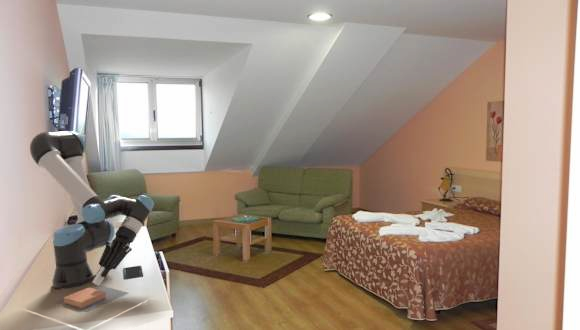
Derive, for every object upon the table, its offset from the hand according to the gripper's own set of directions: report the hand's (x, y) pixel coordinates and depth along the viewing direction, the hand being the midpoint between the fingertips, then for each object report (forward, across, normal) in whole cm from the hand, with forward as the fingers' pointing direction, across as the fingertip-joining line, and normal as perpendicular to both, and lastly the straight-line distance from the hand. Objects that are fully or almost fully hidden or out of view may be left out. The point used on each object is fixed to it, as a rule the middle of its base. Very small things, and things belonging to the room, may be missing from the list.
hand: (95, 284), depth 160 cm
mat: (+5, 0, +3) cm, 6 cm away
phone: (-13, -8, +21) cm, 26 cm away
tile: (+2, 0, +3) cm, 3 cm away
